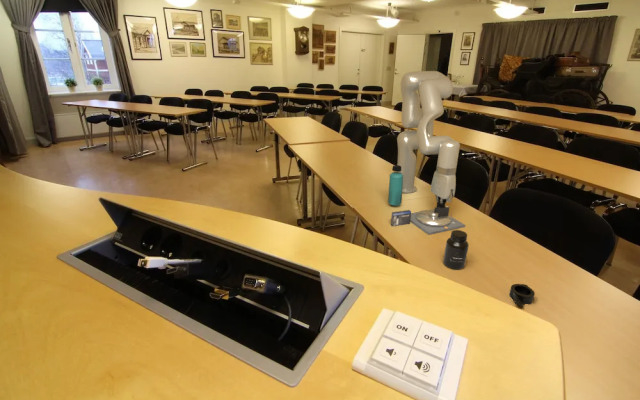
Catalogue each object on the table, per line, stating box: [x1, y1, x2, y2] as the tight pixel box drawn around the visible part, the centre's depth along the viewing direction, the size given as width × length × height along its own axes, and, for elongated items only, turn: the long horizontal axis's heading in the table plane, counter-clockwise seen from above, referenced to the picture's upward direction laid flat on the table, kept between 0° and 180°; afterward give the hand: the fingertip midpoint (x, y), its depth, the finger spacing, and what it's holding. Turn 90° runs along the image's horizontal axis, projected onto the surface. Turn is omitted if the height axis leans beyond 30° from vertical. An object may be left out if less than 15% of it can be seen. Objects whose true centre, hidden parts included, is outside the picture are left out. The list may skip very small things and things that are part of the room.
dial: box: [416, 205, 452, 227], centre depth 136 cm, size 14×14×5 cm
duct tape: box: [508, 283, 536, 308], centre depth 92 cm, size 8×10×3 cm
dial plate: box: [410, 208, 466, 236], centre depth 138 cm, size 18×18×1 cm
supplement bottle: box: [442, 229, 470, 270], centre depth 106 cm, size 7×7×12 cm
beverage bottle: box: [387, 164, 403, 206], centre depth 150 cm, size 6×7×20 cm
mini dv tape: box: [390, 209, 412, 227], centre depth 135 cm, size 8×2×6 cm, turn 105°
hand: (440, 210), depth 140 cm, fingers closed
